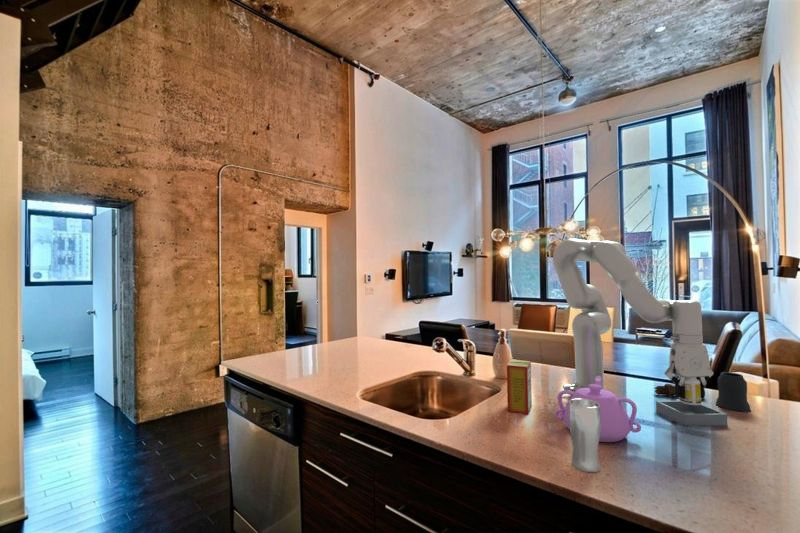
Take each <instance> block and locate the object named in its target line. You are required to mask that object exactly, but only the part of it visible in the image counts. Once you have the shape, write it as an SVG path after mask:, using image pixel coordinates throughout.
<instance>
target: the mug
mask: <svg viewBox="0 0 800 533" xmlns="http://www.w3.org/2000/svg"><path fill="white" fill-rule="evenodd" d="M717 390H718V396H717V398H716V401H715V406H716V407H717V406H718V407H717V408H719V407H720V409H721V410H725V409H726V410H727V411H731V412H735V411H736V412H737V413H750V412H752V410H751V405H750V404H749V401H748V383H747V380H746V379H745V377H744V375H743V374H741V373H735V372H731V371H729V372H728V371H727V372H725V371H723V372H721V373H720V375H719V376H718V377H717ZM749 411H750V412H749Z"/></svg>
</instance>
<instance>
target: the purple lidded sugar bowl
mask: <svg viewBox="0 0 800 533" xmlns="http://www.w3.org/2000/svg"><path fill="white" fill-rule="evenodd" d="M588 386H589V388H580V389H577V390H576V391H575V392H572V391H570V390H564V389H563V390H560V392H558V394H557V403H558V406H559V408H558V409H556V410H555V412H554V415H555V418H557V419H558V420H561V421H563V422H564V425H565V426H567V428H568V429H569V430H570V426H569V404H570V402H569V401H570V400H572V399H588V400H592V401H595V402H597V403H599V405H600V414H601V434H600V440H599V443H615V442H620V441H622V440H623V439H625V438H626V437H627V436H629V434H630V432H632V433H635V434H636V433H639V432H641V430H642V425H641V424H640V423H639V422H637V421H635V420H636V416H637V411H638V408H637V405H636V403H635V402H634V401H633V400H632V399H631V398H629V397H628V398H627V397H624V396H623V397H618V396H616V394H615V393H614V392H612V391H609V390H607V389H604V390H603V389H602V386H601V377H600V376H597V377H596V378H595V382H594V384H590V385H588ZM563 395H570V397H569V399H568V401H567V403H566V405H565V406H564V403H563V398H562V397H563ZM623 402H624V403H627V404H629V405H630V406H631V408H632V410H631V414H630V417H629V416H628V412H627V410H626V409H625V407H624V405H623V404H622V403H623ZM560 414H561V415H560ZM634 426H636V427H634Z"/></svg>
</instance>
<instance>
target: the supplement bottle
mask: <svg viewBox="0 0 800 533" xmlns="http://www.w3.org/2000/svg"><path fill="white" fill-rule="evenodd" d="M683 386H685V399H682V398H680V397H679V401H680V402H682V403H684V404H688V405H701V404H702V398H701V390H700V381H699V380H698V379H696V377H685V379H684V382H683Z"/></svg>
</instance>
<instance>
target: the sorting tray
mask: <svg viewBox="0 0 800 533" xmlns="http://www.w3.org/2000/svg"><path fill="white" fill-rule="evenodd" d="M655 409H656V410H655V412H656V413H657V414H659V415H661V414H662V416H663V415H664V417H665V418H667V417H668V418H667V419H669V418H670V419H669V420H671V419H672V421H673V420H674V421H673V422H675V421H676V422H675V423H677V424H680V425H681V426H683V427H685V428H699V427H701V428H702V427H703V428H704V427H728V414H727V413H725V412H723V411H720V410H718V409H715V408H712V407H710V406H708V405H705V404H703V403H701V405H688V404H684V403H682V402H680V400H658V401H657V400H656V401H655Z"/></svg>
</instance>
